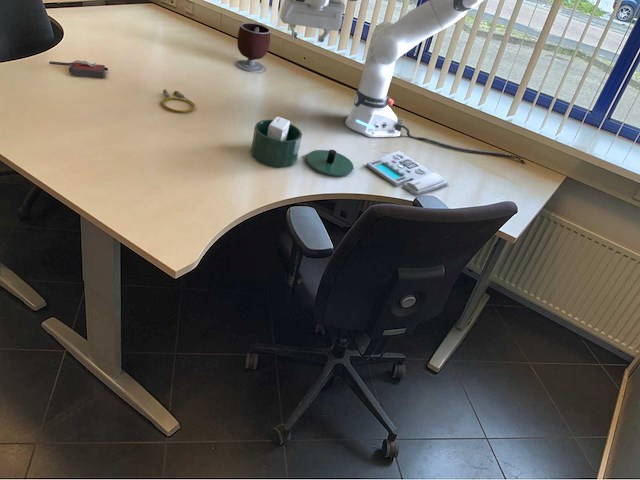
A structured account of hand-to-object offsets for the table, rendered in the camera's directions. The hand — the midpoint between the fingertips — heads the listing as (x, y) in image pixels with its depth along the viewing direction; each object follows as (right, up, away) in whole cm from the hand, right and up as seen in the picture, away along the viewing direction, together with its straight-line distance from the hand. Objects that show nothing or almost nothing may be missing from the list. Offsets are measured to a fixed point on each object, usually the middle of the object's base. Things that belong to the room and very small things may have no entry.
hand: (307, 40), depth 182 cm
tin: (-11, -38, +1) cm, 40 cm away
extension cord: (-47, -17, +17) cm, 53 cm away
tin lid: (+7, -40, +4) cm, 41 cm away
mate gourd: (-27, +10, +61) cm, 67 cm away
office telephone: (+34, -44, +11) cm, 56 cm away
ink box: (-11, -38, +1) cm, 40 cm away
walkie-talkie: (-85, -5, +20) cm, 87 cm away
